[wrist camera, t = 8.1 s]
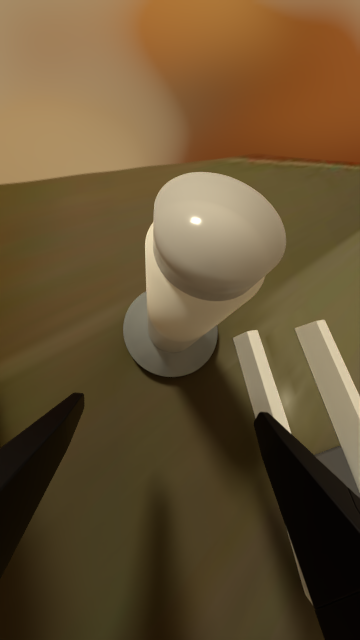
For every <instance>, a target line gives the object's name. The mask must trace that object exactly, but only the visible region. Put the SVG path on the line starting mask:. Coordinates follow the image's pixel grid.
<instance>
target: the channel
mask: <svg viewBox="0 0 360 640" xmlns="http://www.w3.org/2000/svg"><path fill="white" fill-rule="evenodd" d="M294 329H295V331H296V334H297V336H298V339H299V341H300V344H301V346H302V349H303V351H304V354H305V356H306V359H307V361H308V364H309V366H310V369H311V371H312V374H313V376H314V379H315V381H316V384H317V386H318V389H319V391H320V394H321V397H322V399H323V402H324V404H325V407H326V409H327V412H328V414H329V417H330V419H331V422H332V424H333V427H334V429H335V432H336V434H337V437H338V439H339V442H340V444H341V447H340V446H338V447H335V448H332V449H330V450H327V451H324V452H322V453H319V454H316V455H314V456H315V457H316V458H317V459H319V460H320V461H321V462H322V463H323V464H324V465H325V466H326V467H327V468H328V469H329V470H330V471H331V472H332V473H334V474H335V475H336V476H337V477H338V478H339V479H340V480H341V481H342V482H343V483H344V484H345V485H346V486H347V487H348V488H350V489H351V490H352V491H353V492H354V493H355V494H356V495H357V496H358V497H359V498H360V396H359V394H358V392H357V390H356V388H355V385H354V383H353V381H352V379H351V377H350V374H349V372H348V370H347V368H346V366H345V364H344V361H343V359H342V357H341V355H340V353H339V350H338V348H337V346H336V344H335V342H334V340H333V337H332V335H331V333H330V331H329V329H328V326H327V324H326V322H325V320H320V321H315V322H312V323H309V324H306V325H303V326H300V327H297V328H294ZM233 340H234V344H235V347H236V351H237V354H238V358H239V361H240V365H241V368H242V372H243V376H244V379H245V383H246V386H247V390H248V393H249V397H250V401H251V404H252V408H253V411H254V415H255V418H256V417H257V415H258V414H259V412H261V411H262V412H268V413H269V414H270V415H272V416H273V417H274V418H275V419H276V420H277V421H278V422H279V423H280V424H281V425H282V426H283V427H284V428H285V429H287V430H288V431H289V432H290V433H291V431H290V428H289V425H288V422H287V419H286V416H285V413H284V410H283V407H282V404H281V400H280V397H279V394H278V391H277V388H276V385H275V382H274V379H273V376H272V373H271V370H270V367H269V364H268V361H267V358H266V355H265V352H264V349H263V346H262V343H261V340H260V337H259V334H258V331H257V330H254V331H247V332H245V333H243V334H241V335H238V336H236V337H234V338H233ZM286 529H287V528H286ZM287 532H288V531H287ZM288 536H289V534H288ZM289 539H290V537H289ZM290 543H291V540H290ZM291 547H292V550H293V554H294V557H295V561H296V564H297V568H298V572H299V575H300V579H301V582H302V586H303V589H304V593H305V595H306V597H307V598H308V599H309V601H310V602H311V603H312V600H311V598H310V595H309V592H308V589H307V586H306V583H305V580H304V577H303V574H302V571H301V569H300V566H299V563H298V560H297V557H296V554H295V551H294V548H293V545H292V543H291ZM312 605H313V603H312Z"/></svg>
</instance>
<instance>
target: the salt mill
mask: <svg viewBox="0 0 360 640" xmlns="http://www.w3.org/2000/svg"><path fill="white" fill-rule="evenodd" d="M285 247H286V234H285V229H284V226H283V223H282V221H281V219H280V217H279V215H278V213H277V212H276V210H275V209H274V208H273V206H272V205H271V204H270V203H269V202H268V201H267V200H266V199H265V198H264V197H263V196H262V195H261V194H260V193H258V192H257V191H256V190H254V189H253V188H251V187H250V186H248V185H246V184H245V183H243V182H241V181H239V180H236V179H234V178H231V177H228V176H225V175H221V174H217V173H209V172H194V173H188V174H184V175H181V176H178V177H176V178H174V179H172V180H171V181H169V182H168V183H167V184H165V185H164V186H163V188H162V189H161V190H160V191H159V193H158V195H157V197H156V200H155V204H154V222H153V224H152V225H151V226H150V228H149V230H148V233H147V236H146V242H145V259H146V291H147V323H148V334H149V337H150V339H151V341H152V342H153V344H154V345H155V346H156V347H158V348H159V349H161V350H163V351H166V352H171V353H175V352H180V351H183V350H185V349H187V348H188V347H189V346H191V345H192V344H193V343H194V342H196V341H197V340H198V339H199V338H201V337H202V336H203V335H205V334H206V333H207V332H208V331H210V330H211V329H212V328H213V327H215V326H216V325H217V324H219V323H220V322H221V321H222V320H224V319H225V318H226V317H228V316H229V315H230V314H231V313H233V312H234V311H235V310H236V309H238V308H239V307H240V306H242V305H243V304H244V303H245V302H247V301H248V300H249V299H251V298H252V297H253V296H254V295H255V294H256V293H257V292H258V290H259V289H260V287H261V285H262V283H263V281H264V278H265V275H266V274H267V273H269V272H270V271H271V270H272V269H273V268H274V267H275V266H276V265H277V264H278V263H279V261H280V260H281V259H282V256H283V254H284V251H285Z"/></svg>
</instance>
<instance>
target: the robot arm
mask: <svg viewBox="0 0 360 640" xmlns="http://www.w3.org/2000/svg"><path fill="white" fill-rule="evenodd" d="M83 409H84V394H83V393H73V394H71V395H70V396H69V397H67V398H66V399H65V400H63V401H62V402H61V403H59V404H58V405H57V406H55V407H54V408H53V409H51V410H50V411H49V412H48V413H46V414H45V415H44V416H42V417H41V418H40V419H38V420H37V421H36V422H34V423H33V424H32V425H30V426H29V427H28V428H26V429H25V430H24V431H22V432H21V433H20V434H18V435H17V436H16V437H14V438H13V439H12V440H10V441H9V442H8V443H7V444H5V445H4V446H3V447H1V448H0V578H1V576H2V574H3V572H4V570H5V568H6V566H7V565H8V563H9V561H10V559H11V557H12V555H13V553H14V551H15V549H16V547H17V545H18V543H19V541H20V539H21V537H22V536H23V534H24V532H25V530H26V528H27V526H28V524H29V522H30V520H31V518H32V516H33V514H34V512H35V510H36V509H37V507H38V505H39V503H40V501H41V499H42V497H43V495H44V493H45V491H46V489H47V487H48V485H49V483H50V482H51V480H52V478H53V476H54V474H55V472H56V470H57V468H58V466H59V464H60V462H61V460H62V458H63V456H64V454H65V453H66V450H67V448H68V446H69V444H70V442H71V439H72V437H73V434H74V432H75V429H76V427H77V424H78V422H79V420H80V417H81V415H82V412H83ZM254 427H255V431H256V435H257V439H258V443H259V447H260V451H261V455H262V458H263V461H264V464H265V467H266V470H267V473H268V476H269V479H270V482H271V485H272V488H273V490H274V493H275V496H276V499H277V502H278V505H279V508H280V511H281V514H282V517H283V519H284V522H285V525H286V528H287V531H288V534H289V537H290V540H291V543H292V545H293V548H294V551H295V554H296V557H297V560H298V563H299V566H300V569H301V571H302V574H303V577H304V580H305V583H306V586H307V589H308V592H309V595H310V598H311V600H312V603H313V606H314V608H315V612H316V615H317V618H318V621H319V624H320V627H321V630H322V633H323V636H324V638H325V640H360V498H359V497H358V496H357V495H356V494H355V493H354V492H353V491H352V490H351V489H350V488H348V487H347V486H346V485H345V484H344V483H343V482H342V481H341V480H340V479H339V478H338V477H337V476H336V475H335V474H334V473H332V472H331V471H330V470H329V469H328V468H327V467H326V466H325V465H324V464H323V463H322V462H321V461H320V460H319V459H317V458H316V457H315V456H314V455H313V454H312V453H311V452H310V451H309V450H308V449H307V448H306V447H305V446H304V445H303V444H301V443H300V442H299V441H298V440H297V439H296V438H295V437H294V436H293V435H292V434H291V433H290V432H289V431H288V430H287V429H285V428H284V427H283V426H282V425H281V424H280V423H279V422H278V421H277V420H276V419H275V418H274V417H273V416H272V415H270V414H269V413H268V412H262V411H261V412H259V414H258V415H257V417H256V419H255V421H254Z"/></svg>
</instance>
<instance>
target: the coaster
mask: <svg viewBox="0 0 360 640" xmlns="http://www.w3.org/2000/svg"><path fill="white" fill-rule="evenodd" d="M123 334H124V340H125V343H126V346H127V348H128V351H129V353H130V354H131V356H132V357H133V358H134V360H135V361H136V362H137V363H138V364H139V365H140V366H141V367H143V368H144V369H146V370H147V371H149V372H151V373H153V374H156V375H159V376H164V377H178V376H184V375H187V374H190V373H192V372H194V371H196V370H198V369H199V368H200V367H202V366H203V365H204V364H205V363H206V362H207V361H208V360H209V358H210V357H211V355H212V353H213V351H214V349H215V346H216V343H217V336H218V329H217V325H216V326H215V327H213V328H212V329H211V330H210V331H208V332H207V333H206V334H205V335H203V336H202V337H201V338H199V339H198V340H197V341H196V342H194V343H193V344H192V345H191V346H189V347H188V348H187V349H185V350H183V351H180V352H175V353H171V352H166V351H163V350H161V349H159V348H158V347H156V346H155V345H154V344H153V342H152V341H151V339H150V337H149V334H148V323H147V291H146V292H144V293H142V294H141V295H140V296H138V297H137V298H136V299H135V300H134V302H133V303H132V304H131V306H130V307H129V309H128V311H127V313H126V316H125V320H124V326H123Z"/></svg>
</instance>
